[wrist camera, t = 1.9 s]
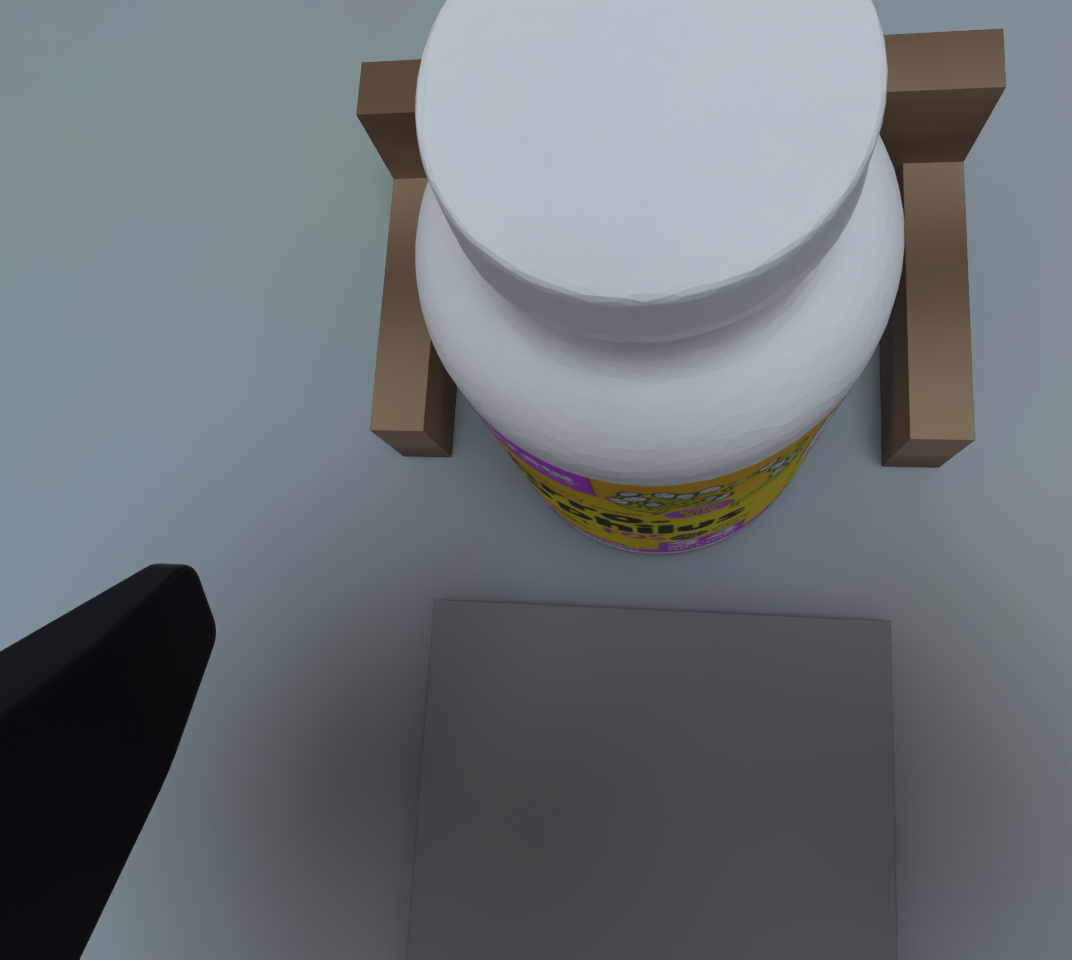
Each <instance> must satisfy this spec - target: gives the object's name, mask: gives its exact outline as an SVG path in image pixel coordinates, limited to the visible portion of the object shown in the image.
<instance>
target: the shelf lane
mask: <svg viewBox="0 0 1072 960" xmlns="http://www.w3.org/2000/svg"><path fill="white" fill-rule="evenodd" d="M883 36H884V40H885V48H886V57H887V66H888V77H887V94H886V106H885V111H884V116H883V121H882V126H881V129H880V132H879V135H880V137H881V139H882V141H883V143H884V145H885V148H886V150H887V152H888V155H889V157H890V160H891V162H892V165H893V167H894V170H895V174H896V178H897V182H898V186H899V190H900V196H901V201H902V207H903V213H904V255H903V265H902V272H901V277H900V282H899V286H898V291H897V294H896V297H895V301H894V304H893V307H892V311H891V314H890V317H889V320H888V323H887V325H886V328H885V330H884V332H883V334H882V337H881V339H880V371H881V422H882V466H898V467H940V466H941V465H943V464H944V463H945V462H946V461H948V460H949V459H950V458H952V457H953V456H954V455H956V454H957V453H958V452H960V451H961V450H962V449H964V448H965V447H966V446H968V445H969V444H970V443H972V442H973V441H974V440H975V430H974V406H973V381H972V357H971V332H970V308H969V283H968V259H967V234H966V210H965V185H964V160H965V158H966V156H967V155H968V153H969V151H970V149H971V148H972V146H973V144H974V142H975V141H976V139H977V137H978V135H979V134H980V132H981V130H982V128H983V127H984V125H985V123H986V121H987V120H988V118H989V116H990V114H991V113H992V111H993V109H994V107H995V105H996V104H997V102H998V100H999V98H1000V97H1001V95H1002V93H1003V91H1004V90H1005V88H1006V75H1005V56H1004V37H1003V29H990V30H971V31H952V32H933V33H914V34H895V35H883ZM421 60H422V59H419V60H400V61H381V62H362V67H361V76H360V86H359V95H358V105H357V114H356V115H357V117H358V118H359V120H360V122H361V123H362V125H363V127H364V129H365V130H366V132H367V134H368V135H369V137H370V139H371V141H372V142H373V144H374V146H375V147H376V149H377V151H378V153H379V154H380V156H381V158H382V160H383V161H384V163H385V165H386V166H387V168H388V170H389V172H390V173H391V175H392V177H393V178H394V183H393V193H392V204H391V214H390V225H389V235H388V246H387V256H386V267H385V277H384V288H383V298H382V309H381V319H380V330H379V340H378V351H377V361H376V372H375V382H374V393H373V403H372V414H371V424H370V431H372V432H373V433H374V434H376V435H377V436H378V437H380V438H381V439H382V440H383V441H385V442H386V443H387V444H389V445H390V446H391V447H393V448H394V449H395V450H396V451H398V452H399V453H400V454H402V455H403V456H422V457H451V454H452V441H453V428H454V415H455V402H456V389H457V385H456V384H455V382H454V381H453V379H452V378H451V377H450V375H449V374H448V372H447V371H446V369H445V367H444V365H443V363H442V361H441V359H440V358H439V356H438V354H437V352H436V349H435V347H434V345H433V342H432V340H431V338H430V335H429V332H428V330H427V327H426V323H425V320H424V316H423V313H422V309H421V304H420V298H419V293H418V287H417V279H416V269H415V242H416V234H417V226H418V218H419V213H420V208H421V203H422V199H423V195H424V191H425V189H426V186H427V183H428V178H427V176H426V173H425V171H424V167H423V164H422V160H421V156H420V151H419V145H418V139H417V133H416V120H415V99H416V88H417V78H418V73H419V69H420V64H421Z"/></svg>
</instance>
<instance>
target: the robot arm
mask: <svg viewBox="0 0 1072 960" xmlns="http://www.w3.org/2000/svg"><path fill="white" fill-rule="evenodd" d="M215 637H216V627H215V621H214V618H213V615H212V612H211V610H210V607H209V604H208V601H207V598H206V596H205V593H204V590H203V587H202V585H201V582H200V579H199V576H198V574H197V572H196V571H195V570H194V569H193V568H192V567H190V566H188V565H184V564H153V565H150V566H148V567H146V568H144V569H142V570H141V571H139V572H137V573H135V574H134V575H132V576H130V577H128V578H127V579H125V580H123V581H122V582H120V583H118V584H116V585H115V586H113V587H111V588H109V589H108V590H106V591H104V592H102V593H101V594H99V595H97V596H96V597H94V598H92V599H90V600H89V601H87V602H85V603H83V604H82V605H80V606H78V607H77V608H75V609H73V610H71V611H70V612H68V613H66V614H64V615H63V616H61V617H59V618H57V619H56V620H54V621H52V622H51V623H49V624H47V625H45V626H44V627H42V628H40V629H38V630H37V631H35V632H33V633H31V634H30V635H28V636H26V637H25V638H23V639H21V640H19V641H18V642H16V643H14V644H12V645H11V646H9V647H7V648H5V649H4V650H2V651H0V960H80V958H81V955H82V953H83V951H84V949H85V947H86V945H87V943H88V941H89V939H90V937H91V934H92V932H93V930H94V928H95V926H96V924H97V922H98V920H99V918H100V916H101V914H102V911H103V909H104V907H105V905H106V903H107V901H108V899H109V897H110V895H111V893H112V890H113V888H114V886H115V884H116V882H117V880H118V878H119V876H120V874H121V872H122V869H123V867H124V865H125V863H126V861H127V859H128V857H129V855H130V853H131V851H132V849H133V846H134V844H135V842H136V840H137V838H138V836H139V834H140V832H141V830H142V828H143V825H144V823H145V821H146V819H147V817H148V815H149V813H150V811H151V809H152V807H153V804H154V802H155V800H156V798H157V796H158V794H159V792H160V790H161V787H162V785H163V783H164V781H165V778H166V776H167V774H168V772H169V769H170V767H171V764H172V761H173V759H174V756H175V754H176V751H177V748H178V746H179V743H180V740H181V737H182V734H183V731H184V729H185V726H186V723H187V720H188V717H189V714H190V712H191V709H192V706H193V703H194V700H195V697H196V695H197V692H198V689H199V686H200V683H201V681H202V678H203V675H204V672H205V669H206V666H207V664H208V661H209V658H210V655H211V652H212V649H213V646H214V643H215Z"/></svg>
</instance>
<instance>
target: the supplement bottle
mask: <svg viewBox="0 0 1072 960" xmlns="http://www.w3.org/2000/svg"><path fill="white" fill-rule="evenodd" d="M887 77H888V66H887V57H886V48H885V40H884V36H883V32H882V28H881V25H880V22H879V19H878V16H877V13H876V10H875V7H874V5H873V2H872V0H446V2H445V4H444V5H443V7H442V9H441V10H440V12H439V14H438V16H437V18H436V20H435V22H434V24H433V26H432V29H431V31H430V34H429V37H428V40H427V43H426V46H425V49H424V52H423V55H422V60H421V64H420V69H419V73H418V78H417V88H416V99H415V120H416V133H417V139H418V145H419V151H420V156H421V160H422V164H423V167H424V171H425V173H426V176H427V178H428V183H427V186H426V189H425V191H424V195H423V199H422V203H421V208H420V213H419V218H418V226H417V234H416V242H415V269H416V279H417V287H418V293H419V298H420V304H421V309H422V313H423V316H424V320H425V323H426V327H427V330H428V332H429V335H430V338H431V340H432V342H433V345H434V347H435V349H436V352H437V354H438V356H439V358H440V359H441V361H442V363H443V365H444V367H445V369H446V371H447V372H448V374H449V375H450V377H451V378H452V379H453V381H454V382H455V384H456V385H457V387H458V388H459V390H460V391H461V392H462V394H463V395H464V396H465V398H466V399H467V400H468V402H469V403H470V405H471V406H472V407H473V408H474V409H475V411H476V412H477V413H478V414H479V416H480V417H481V418H482V420H483V421H484V422H485V424H486V425H487V426H488V427H489V429H490V430H491V431H492V433H493V434H494V435H495V436H496V438H497V439H498V440H499V442H500V443H501V444H502V446H503V447H504V448H505V450H506V451H507V452H508V454H509V455H510V456H511V458H512V459H513V460H514V461H515V463H516V464H517V465H518V467H519V468H520V469H521V471H522V472H523V473H524V474H525V476H526V477H527V478H528V480H529V481H530V483H531V484H532V485H533V486H534V488H535V489H536V490H537V492H538V493H539V494H540V495H541V497H542V498H543V499H544V500H545V502H546V503H547V504H548V505H549V506H550V507H551V508H552V509H553V510H554V511H555V512H556V513H557V514H558V515H559V516H560V517H561V518H562V519H563V520H565V521H566V522H567V523H568V524H569V525H571V526H572V527H574V528H575V529H576V530H578V531H580V532H581V533H583V534H584V535H586V536H588V537H590V538H592V539H594V540H596V541H598V542H601V543H603V544H605V545H608V546H611V547H614V548H618V549H621V550H625V551H630V552H636V553H644V554H673V553H681V552H687V551H692V550H696V549H700V548H703V547H706V546H709V545H712V544H715V543H717V542H719V541H722V540H724V539H726V538H728V537H730V536H732V535H734V534H735V533H737V532H739V531H740V530H742V529H743V528H745V527H746V526H748V525H749V524H750V523H752V522H753V521H754V520H755V519H757V518H758V517H759V516H760V515H761V514H762V513H763V512H764V511H765V510H766V509H767V508H768V507H769V506H770V505H771V504H772V503H773V502H774V501H775V499H776V498H777V497H778V496H779V495H780V494H781V493H782V491H783V490H784V489H785V487H786V486H787V484H788V483H789V481H790V480H791V478H792V477H793V476H794V474H795V472H796V471H797V470H798V468H799V467H800V465H801V464H802V462H803V461H804V459H805V457H806V456H807V454H808V453H809V451H810V450H811V448H812V447H813V445H814V444H815V442H816V441H817V439H818V438H819V436H820V435H821V433H822V432H823V430H824V428H825V427H826V425H827V424H828V422H829V421H830V419H831V418H832V416H833V415H834V413H835V412H836V410H837V409H838V407H839V406H840V404H841V403H842V401H843V400H844V399H845V397H846V396H847V394H848V393H849V391H850V390H851V389H852V387H853V386H854V384H855V383H856V382H857V380H858V378H859V377H860V375H861V373H862V372H863V370H864V369H865V367H866V366H867V364H868V363H869V361H870V358H871V356H872V355H873V353H874V351H875V349H876V347H877V345H878V343H879V341H880V339H881V337H882V334H883V332H884V330H885V328H886V325H887V323H888V320H889V317H890V314H891V311H892V307H893V304H894V301H895V297H896V294H897V291H898V286H899V282H900V277H901V272H902V265H903V255H904V213H903V207H902V201H901V196H900V190H899V186H898V182H897V178H896V174H895V170H894V167H893V165H892V162H891V160H890V157H889V155H888V152H887V150H886V148H885V145H884V143H883V141H882V139H881V137H880V135H879V132H880V129H881V126H882V121H883V116H884V111H885V106H886V94H887Z"/></svg>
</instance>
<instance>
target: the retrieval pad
mask: <svg viewBox="0 0 1072 960" xmlns="http://www.w3.org/2000/svg"><path fill="white" fill-rule="evenodd" d="M406 960H897V914H896V866H895V819H894V771H893V723H892V676H891V628H890V621H875V620H854V619H833V618H811V617H790V616H769V615H748V614H727V613H706V612H685V611H664V610H643V609H622V608H601V607H580V606H558V605H537V604H516V603H495V602H474V601H453V600H434V610H433V623H432V636H431V649H430V662H429V674H428V687H427V700H426V713H425V726H424V739H423V752H422V765H421V777H420V790H419V803H418V816H417V829H416V842H415V855H414V868H413V880H412V893H411V906H410V919H409V932H408V945H407V958H406Z"/></svg>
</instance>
